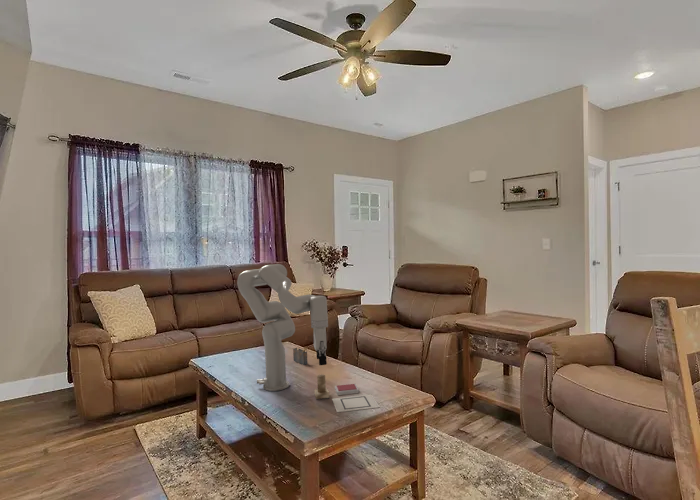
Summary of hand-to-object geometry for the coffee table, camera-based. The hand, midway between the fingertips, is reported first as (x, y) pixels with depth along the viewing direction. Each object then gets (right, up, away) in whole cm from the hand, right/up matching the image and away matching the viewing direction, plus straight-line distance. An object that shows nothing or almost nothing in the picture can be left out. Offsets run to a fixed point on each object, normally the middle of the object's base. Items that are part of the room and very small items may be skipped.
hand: (321, 361), depth 179 cm
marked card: (+15, -16, -8) cm, 23 cm away
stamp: (0, -16, +1) cm, 16 cm away
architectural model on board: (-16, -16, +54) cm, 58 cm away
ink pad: (+11, -15, +7) cm, 20 cm away
